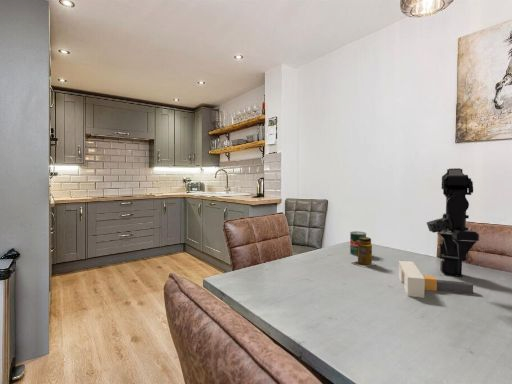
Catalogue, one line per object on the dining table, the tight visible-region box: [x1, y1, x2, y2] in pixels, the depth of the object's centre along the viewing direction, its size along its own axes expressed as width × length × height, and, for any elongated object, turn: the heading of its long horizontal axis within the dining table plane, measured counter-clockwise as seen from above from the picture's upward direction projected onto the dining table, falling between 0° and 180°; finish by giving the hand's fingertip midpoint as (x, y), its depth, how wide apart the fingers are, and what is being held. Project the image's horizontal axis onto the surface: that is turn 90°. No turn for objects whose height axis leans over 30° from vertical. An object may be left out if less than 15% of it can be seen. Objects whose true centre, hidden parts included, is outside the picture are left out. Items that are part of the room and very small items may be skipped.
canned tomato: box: [349, 230, 367, 256], centre depth 151 cm, size 8×8×11 cm
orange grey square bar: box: [422, 274, 474, 295], centre depth 103 cm, size 15×4×4 cm, turn 71°
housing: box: [398, 260, 425, 299], centre depth 106 cm, size 5×20×6 cm, turn 161°
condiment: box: [351, 236, 375, 268], centre depth 134 cm, size 7×8×12 cm
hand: (454, 256), depth 100 cm, fingers open, 9 cm apart
